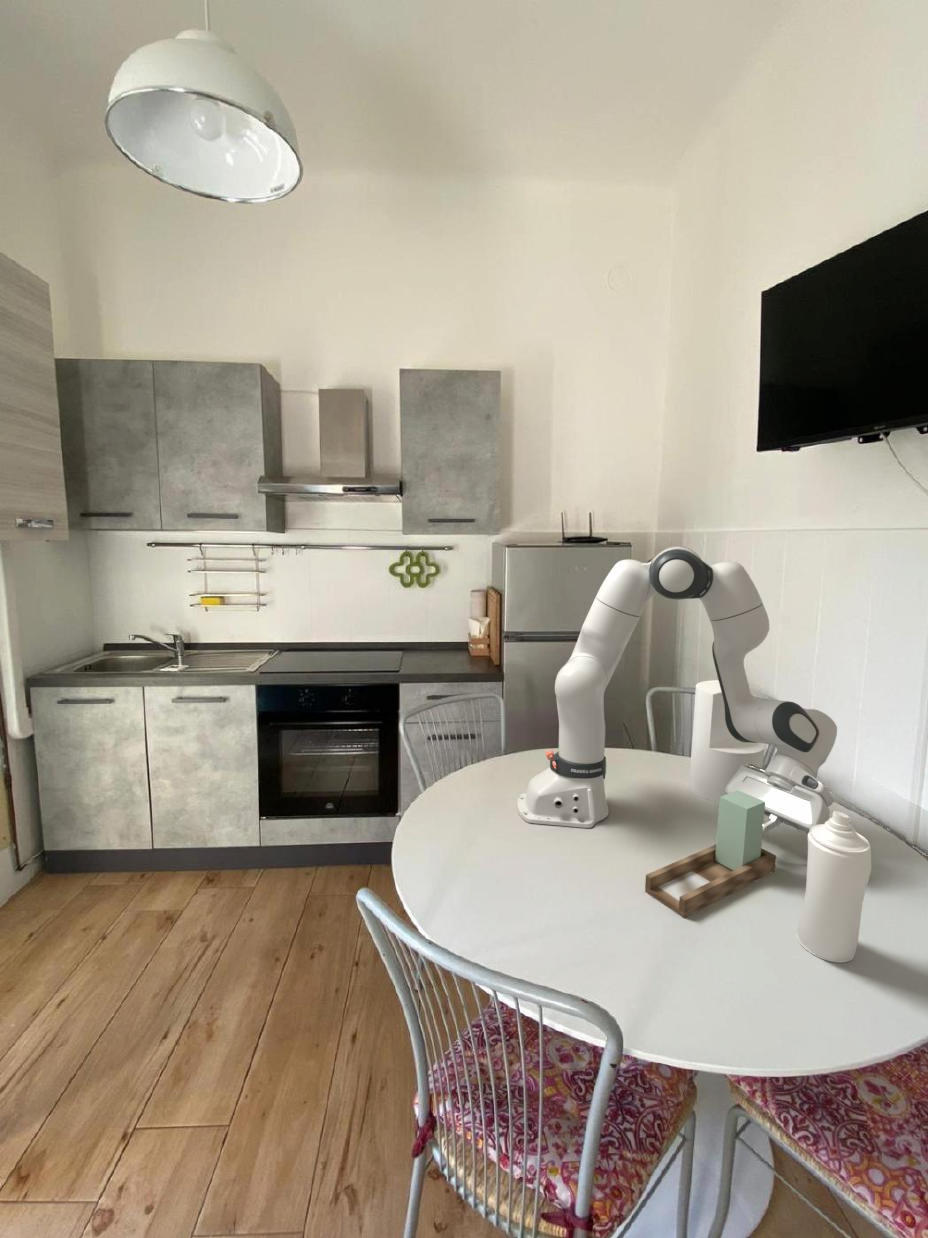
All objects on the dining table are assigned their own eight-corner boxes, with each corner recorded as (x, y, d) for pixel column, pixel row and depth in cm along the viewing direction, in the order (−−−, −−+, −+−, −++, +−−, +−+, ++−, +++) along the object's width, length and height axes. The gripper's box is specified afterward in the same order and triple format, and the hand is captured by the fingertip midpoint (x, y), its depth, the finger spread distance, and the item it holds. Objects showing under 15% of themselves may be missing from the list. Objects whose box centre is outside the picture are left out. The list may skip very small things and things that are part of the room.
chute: (734, 850, 126) (735, 835, 126) (774, 871, 119) (776, 855, 118) (644, 891, 112) (645, 875, 112) (683, 918, 105) (685, 900, 104)
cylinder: (676, 787, 157) (682, 686, 153) (711, 771, 167) (718, 677, 163) (738, 812, 143) (746, 702, 139) (772, 793, 154) (781, 691, 149)
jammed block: (732, 852, 123) (737, 790, 121) (759, 866, 118) (765, 801, 116) (714, 860, 120) (719, 797, 118) (741, 875, 115) (747, 809, 113)
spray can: (884, 970, 92) (903, 824, 88) (827, 981, 90) (844, 831, 86) (825, 922, 103) (839, 790, 100) (773, 931, 101) (786, 796, 97)
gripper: (738, 754, 133) (707, 804, 129) (832, 788, 115) (800, 848, 112) (748, 768, 136) (719, 818, 132) (842, 804, 118) (810, 862, 115)
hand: (757, 832), depth 122 cm, fingers closed
